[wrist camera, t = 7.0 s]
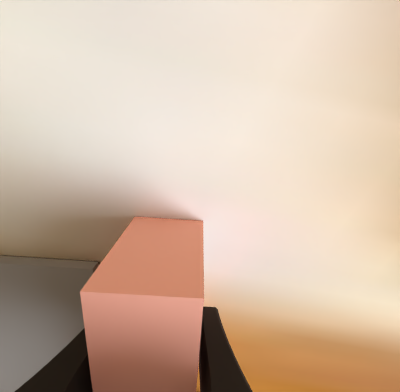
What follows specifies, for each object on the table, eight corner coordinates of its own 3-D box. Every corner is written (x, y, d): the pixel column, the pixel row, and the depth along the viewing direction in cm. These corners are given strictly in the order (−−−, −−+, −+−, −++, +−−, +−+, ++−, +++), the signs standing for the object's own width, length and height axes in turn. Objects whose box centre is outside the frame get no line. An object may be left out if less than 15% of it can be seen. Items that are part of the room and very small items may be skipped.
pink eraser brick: (192, 368, 14) (186, 500, 9) (139, 366, 14) (106, 496, 9) (203, 219, 10) (203, 298, 6) (135, 215, 10) (80, 291, 6)
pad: (109, 396, 14) (105, 407, 14) (-49, 386, 14) (-59, 398, 13) (98, 261, 11) (92, 269, 10) (-105, 248, 11) (-122, 255, 10)
